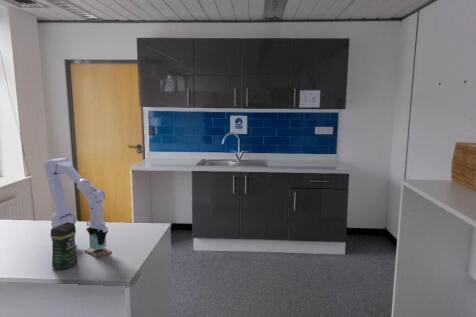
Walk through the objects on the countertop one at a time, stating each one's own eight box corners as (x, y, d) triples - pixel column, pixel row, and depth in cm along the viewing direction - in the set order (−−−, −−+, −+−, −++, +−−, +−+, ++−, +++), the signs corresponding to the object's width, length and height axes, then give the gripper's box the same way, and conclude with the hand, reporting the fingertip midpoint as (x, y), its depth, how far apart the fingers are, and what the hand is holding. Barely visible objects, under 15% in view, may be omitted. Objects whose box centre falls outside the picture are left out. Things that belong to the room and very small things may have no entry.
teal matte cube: (89, 247, 155) (89, 235, 154) (100, 243, 159) (99, 232, 158) (96, 250, 152) (95, 237, 151) (106, 246, 156) (105, 234, 155)
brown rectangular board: (84, 251, 156) (84, 241, 155) (98, 247, 162) (98, 237, 161) (97, 258, 150) (97, 247, 149) (111, 252, 155) (111, 242, 154)
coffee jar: (63, 272, 136) (61, 229, 134) (48, 269, 139) (46, 227, 136) (81, 261, 146) (78, 222, 143) (66, 259, 148) (64, 220, 145)
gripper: (113, 216, 152) (114, 244, 154) (95, 210, 160) (97, 236, 162) (99, 220, 146) (100, 249, 148) (81, 214, 155) (83, 241, 157)
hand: (97, 243), depth 155 cm, fingers closed on teal matte cube, 5 cm apart
